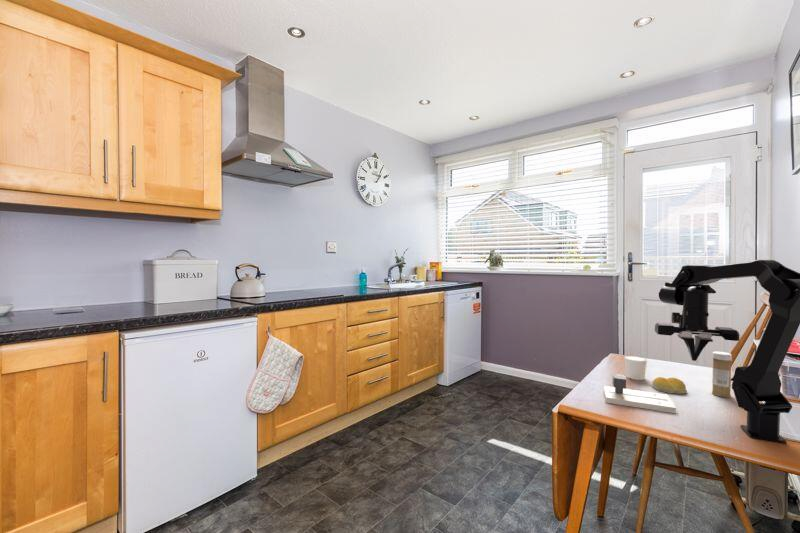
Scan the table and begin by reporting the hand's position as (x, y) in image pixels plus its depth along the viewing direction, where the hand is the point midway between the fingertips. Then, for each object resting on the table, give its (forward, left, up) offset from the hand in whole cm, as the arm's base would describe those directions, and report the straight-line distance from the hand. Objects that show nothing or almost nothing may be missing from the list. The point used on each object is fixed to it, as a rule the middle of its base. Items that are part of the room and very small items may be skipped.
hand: (693, 360), depth 108 cm
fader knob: (-5, +19, -11) cm, 23 cm away
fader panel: (-5, +14, -13) cm, 20 cm away
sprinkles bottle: (+13, -10, -13) cm, 21 cm away
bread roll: (+12, +3, -14) cm, 18 cm away
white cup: (+21, +12, -13) cm, 28 cm away
